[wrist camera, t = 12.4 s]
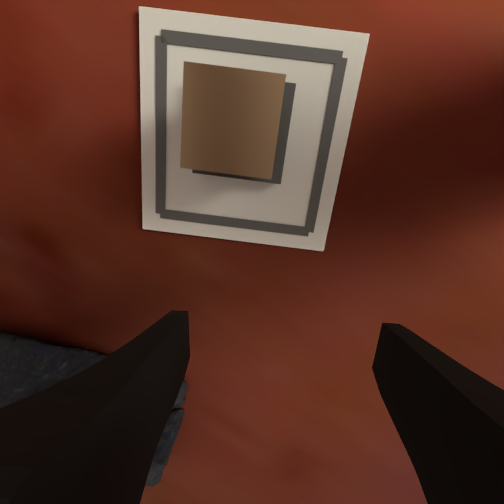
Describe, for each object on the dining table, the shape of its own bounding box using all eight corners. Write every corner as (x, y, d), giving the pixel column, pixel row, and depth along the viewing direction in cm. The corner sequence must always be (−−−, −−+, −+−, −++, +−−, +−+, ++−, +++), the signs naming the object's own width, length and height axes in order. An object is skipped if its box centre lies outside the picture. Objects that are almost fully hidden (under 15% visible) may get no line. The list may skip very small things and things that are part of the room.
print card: (367, 36, 15) (370, 33, 15) (322, 249, 19) (323, 252, 19) (141, 9, 15) (138, 5, 15) (144, 227, 20) (141, 229, 19)
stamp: (293, 88, 16) (310, 53, 10) (279, 181, 18) (286, 199, 12) (203, 77, 16) (163, 34, 10) (198, 170, 18) (162, 183, 12)
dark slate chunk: (-62, 275, 22) (-144, 308, 18) (206, 377, 24) (192, 429, 20) (-69, 410, 27) (-135, 462, 23) (153, 484, 29) (132, 545, 25)
